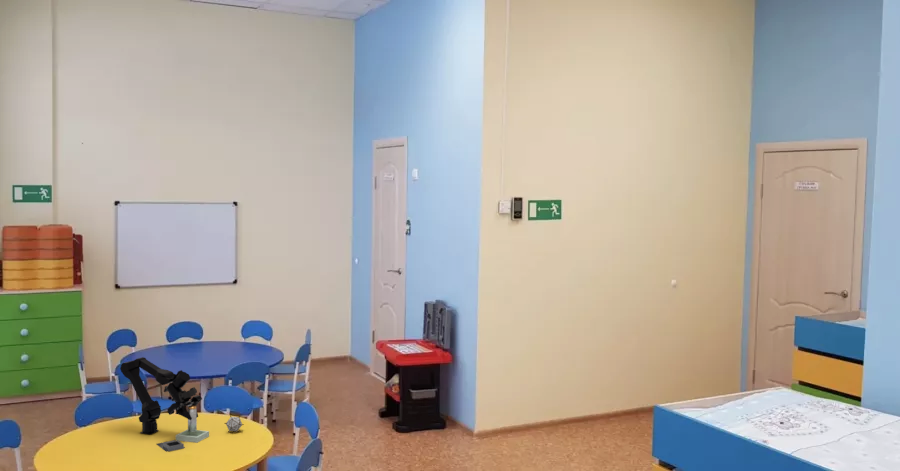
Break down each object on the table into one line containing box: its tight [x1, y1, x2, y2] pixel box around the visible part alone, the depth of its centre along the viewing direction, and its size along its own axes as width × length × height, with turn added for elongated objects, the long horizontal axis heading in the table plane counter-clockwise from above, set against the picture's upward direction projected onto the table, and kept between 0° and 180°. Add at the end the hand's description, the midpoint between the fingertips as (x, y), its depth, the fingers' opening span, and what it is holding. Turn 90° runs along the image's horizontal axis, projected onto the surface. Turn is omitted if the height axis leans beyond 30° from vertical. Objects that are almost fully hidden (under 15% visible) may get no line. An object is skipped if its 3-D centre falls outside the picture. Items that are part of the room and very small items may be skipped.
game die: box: [224, 415, 245, 433], centre depth 387 cm, size 9×8×10 cm
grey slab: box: [155, 439, 186, 452], centre depth 362 cm, size 15×9×3 cm, turn 40°
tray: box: [175, 428, 210, 443], centre depth 373 cm, size 12×10×4 cm
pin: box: [187, 405, 198, 432], centre depth 373 cm, size 4×4×12 cm
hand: (194, 418), depth 372 cm, fingers closed on pin, 4 cm apart
